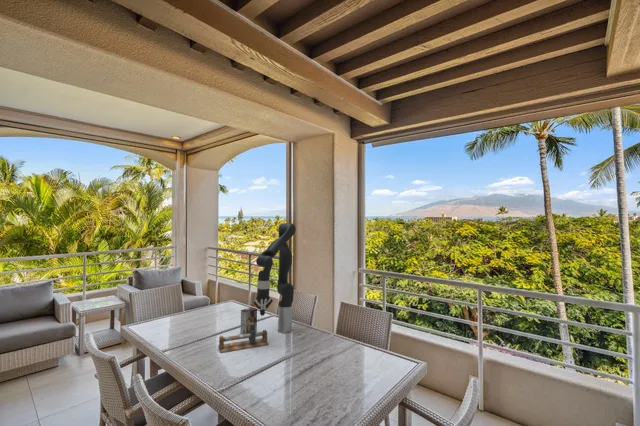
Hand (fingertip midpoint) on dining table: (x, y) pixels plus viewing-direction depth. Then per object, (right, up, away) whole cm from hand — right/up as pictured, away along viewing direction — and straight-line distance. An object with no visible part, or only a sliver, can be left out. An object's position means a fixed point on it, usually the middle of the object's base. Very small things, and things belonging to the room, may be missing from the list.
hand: (262, 315), depth 177 cm
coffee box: (-12, -18, +14) cm, 26 cm away
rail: (-10, -17, -6) cm, 20 cm away
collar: (-6, -15, -3) cm, 16 cm away
